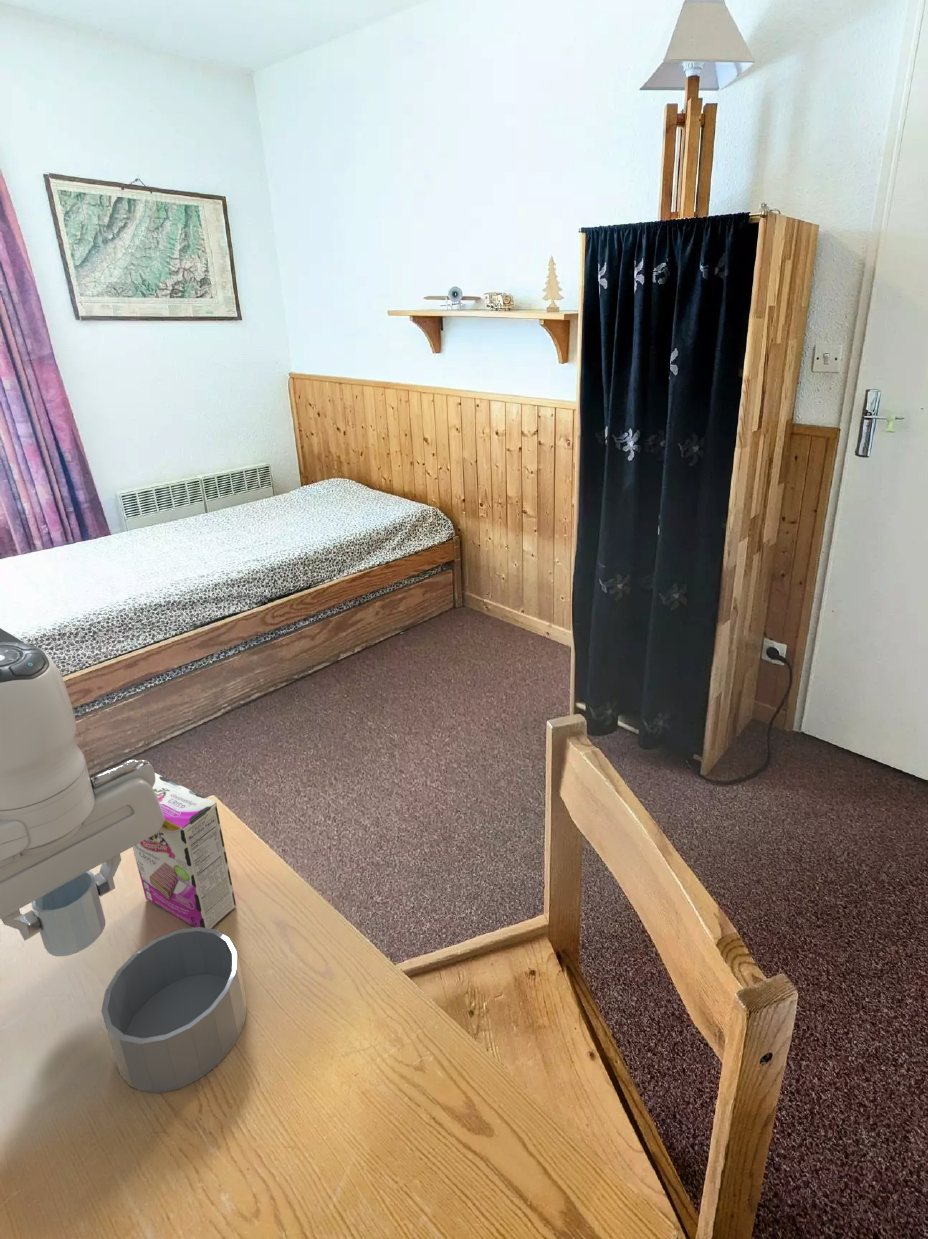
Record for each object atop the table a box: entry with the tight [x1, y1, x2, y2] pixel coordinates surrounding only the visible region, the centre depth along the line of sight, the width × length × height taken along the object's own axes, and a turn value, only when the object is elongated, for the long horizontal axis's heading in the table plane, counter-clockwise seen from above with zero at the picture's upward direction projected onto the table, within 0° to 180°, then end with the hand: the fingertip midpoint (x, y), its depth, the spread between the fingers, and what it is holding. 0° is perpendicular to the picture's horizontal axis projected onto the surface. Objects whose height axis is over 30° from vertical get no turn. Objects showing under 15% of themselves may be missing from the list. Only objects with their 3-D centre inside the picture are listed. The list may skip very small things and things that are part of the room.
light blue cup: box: [31, 870, 106, 957], centre depth 70 cm, size 5×6×6 cm
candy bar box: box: [132, 772, 237, 929], centre depth 81 cm, size 11×5×16 cm, turn 63°
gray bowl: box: [100, 927, 247, 1094], centre depth 68 cm, size 12×12×7 cm
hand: (69, 911), depth 70 cm, fingers closed on light blue cup, 5 cm apart
